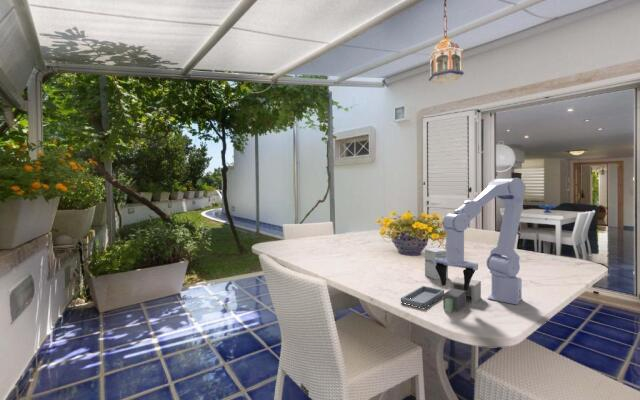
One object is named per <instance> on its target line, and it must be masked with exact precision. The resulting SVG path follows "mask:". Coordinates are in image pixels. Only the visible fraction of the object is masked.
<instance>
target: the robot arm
mask: <svg viewBox="0 0 640 400" xmlns="http://www.w3.org/2000/svg"><path fill="white" fill-rule="evenodd" d="M526 188H527V187H526V184H525V183H524V181H523V180H522V179H521V178H519V177H513V178H512V177H511V178H500V177H499V178H497V177H496V178H494V179H492V180H491V181H490V182H488V185H487V187H486V188H485V189H483V191H481V193H480V194H479V195H477V196H476V198H474V199H473V200H471V199H469V200H464V202H463V204H462V205H460V206H459V207H458V208H456V209H454V210H453V213H452V212H451V213H447V214H446V215H445V216H444V218H443V220H442V221H441V225H442V226H443V228H444V233H445V239H446V240H445V242H446V243H445V250H446V259H445V258H434V264H437V265H436V266H435V268H436V270H437V272H438V274H439V276H440V279H439V280H440V283H441V286H443V287H444V286H446V285H447V278H446V271H447V266H448V267H455V268H461V269H463V270H462V272H463V278H464V290H468V288H469V284H470V281H471V280H472V279H473V276H474V273H476V271H478V270H479V263H477V262H471V261H467V260H465V230H467V229H468V227H469V223H471V221H472V220H474V219H475V218H476V217H477V216H478V215H479V214H480V213H481V212H482V207H484V206H485V205H486V204H488V203H490V202H491V201H492V200H493V199H495V198H497V199H499V200H500V201H501V202H503V204H504V210H503V215H502V221H501V226H500V230H499V236H498V241H497V246H495V247H494V248H493V249H491V250H490V254H489V256H488V257H487V258H486V259H487V260H486V268H487V269H489V273H491V293H490V295H488V297H487V299H488V300H492V301H497V302H502V303H508V304H511V305H518V304H519V303H520V302H521V301H522V299H523V297H522V293H523V292H522V287H523V285H522V281H523V280H522V278H521V277H520V276H517V275H518V274H519V272H520V268H521V267H520V265H521V264H520V258H521V257H520V256H519V254H518V253H517V252H516V251H515V246H516V241H517V237H518V232H519V228H520V227H519V226H520V221H521V217H522V210H523V206H524V197H525V194H526V193H525V192H526Z"/></svg>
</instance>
